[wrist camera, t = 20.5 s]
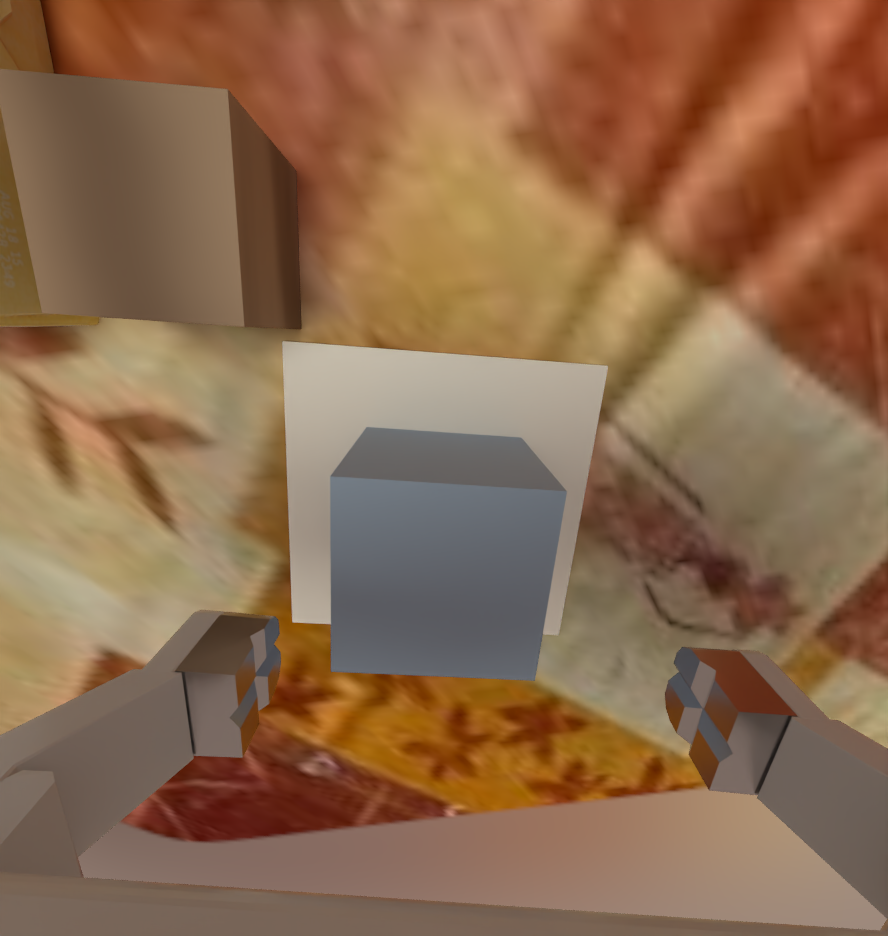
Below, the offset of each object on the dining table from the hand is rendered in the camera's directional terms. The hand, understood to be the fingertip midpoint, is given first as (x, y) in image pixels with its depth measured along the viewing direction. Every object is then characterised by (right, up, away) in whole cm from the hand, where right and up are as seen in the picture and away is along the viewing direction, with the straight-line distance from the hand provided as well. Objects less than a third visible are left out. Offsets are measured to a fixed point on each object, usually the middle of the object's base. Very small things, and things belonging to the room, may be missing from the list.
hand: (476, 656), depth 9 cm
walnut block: (-8, +12, +6) cm, 15 cm away
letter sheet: (-1, +2, +9) cm, 9 cm away
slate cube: (-1, +2, +9) cm, 9 cm away
